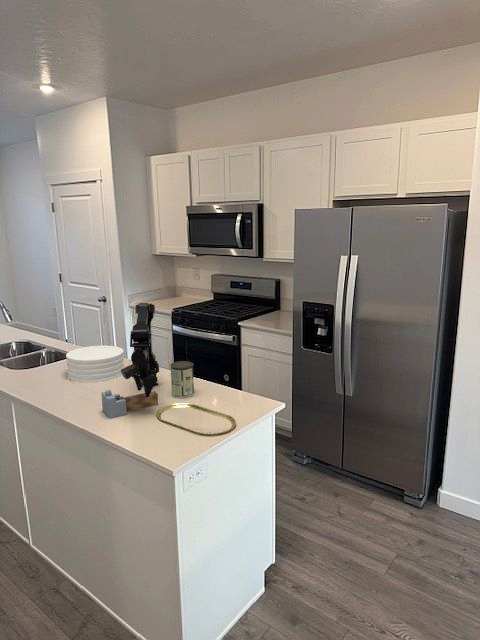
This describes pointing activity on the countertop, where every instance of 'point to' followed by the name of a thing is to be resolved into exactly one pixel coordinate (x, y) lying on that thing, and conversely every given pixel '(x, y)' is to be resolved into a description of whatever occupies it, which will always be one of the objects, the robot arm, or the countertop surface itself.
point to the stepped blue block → (113, 404)
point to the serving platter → (199, 410)
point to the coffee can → (182, 379)
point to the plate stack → (95, 363)
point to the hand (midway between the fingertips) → (143, 393)
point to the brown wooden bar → (140, 401)
